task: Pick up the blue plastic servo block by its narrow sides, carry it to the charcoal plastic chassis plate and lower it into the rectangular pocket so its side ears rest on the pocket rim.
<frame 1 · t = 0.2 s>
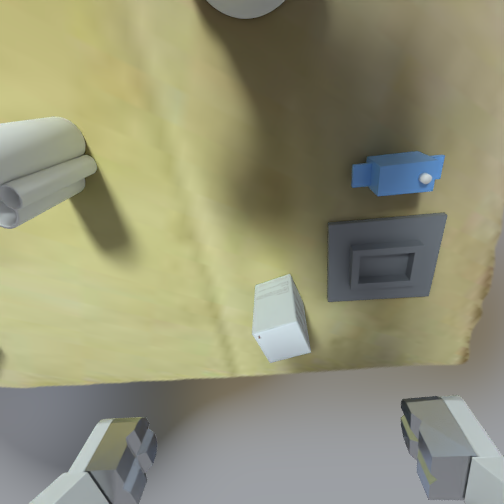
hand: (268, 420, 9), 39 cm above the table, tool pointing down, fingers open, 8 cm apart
white cylinder cluster: (71, 156, 44), on the table
supplement box: (279, 292, 55), on the table
servo block: (390, 167, 42), on the table
chassis plate: (379, 259, 50), on the table
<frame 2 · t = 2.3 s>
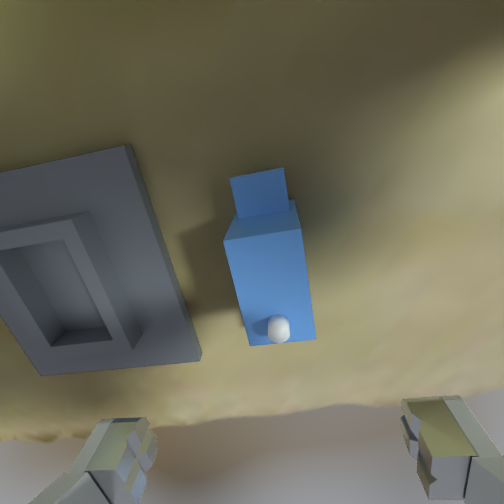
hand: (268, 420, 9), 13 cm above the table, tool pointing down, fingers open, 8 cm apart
servo block: (273, 249, 21), on the table
chassis plate: (81, 278, 23), on the table
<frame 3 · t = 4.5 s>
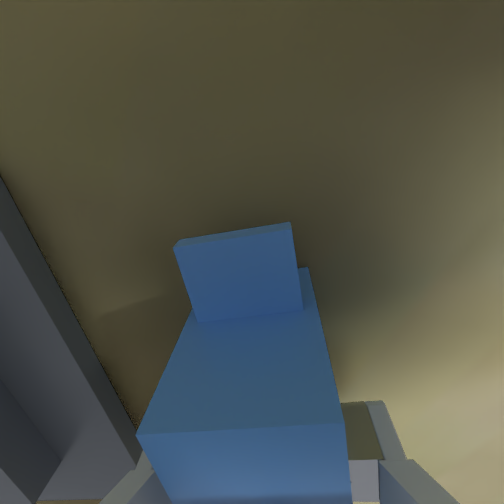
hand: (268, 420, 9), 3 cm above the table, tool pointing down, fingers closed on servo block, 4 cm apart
servo block: (270, 345, 12), on the table, touching gripper
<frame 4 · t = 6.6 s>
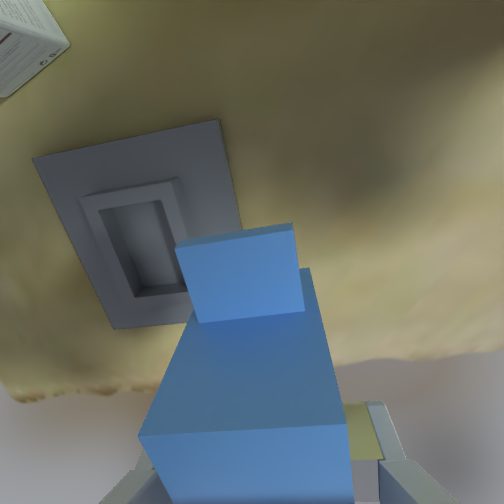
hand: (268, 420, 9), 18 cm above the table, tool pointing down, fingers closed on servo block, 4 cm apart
supplement box: (7, 24, 21), on the table
servo block: (271, 346, 12), point 15 cm above the table, touching gripper
chassis plate: (159, 239, 27), on the table
when the fingers open (6 cm above the table, at t = 9.1 s): servo block drops 2 cm, resting on chassis plate.
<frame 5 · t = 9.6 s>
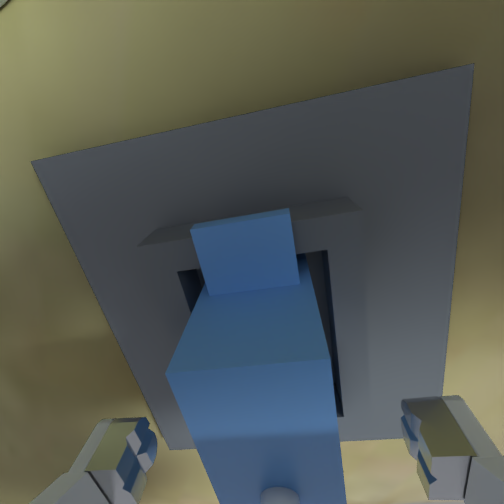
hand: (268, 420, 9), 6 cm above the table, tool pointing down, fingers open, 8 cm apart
servo block: (271, 323, 14), point 1 cm above the table, touching chassis plate
chassis plate: (270, 310, 14), on the table
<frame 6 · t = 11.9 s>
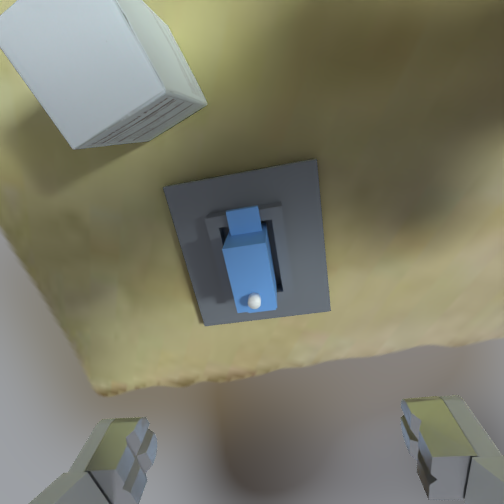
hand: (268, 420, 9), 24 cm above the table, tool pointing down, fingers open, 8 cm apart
supplement box: (158, 88, 27), on the table
servo block: (253, 254, 32), point 1 cm above the table, touching chassis plate
chassis plate: (253, 250, 33), on the table
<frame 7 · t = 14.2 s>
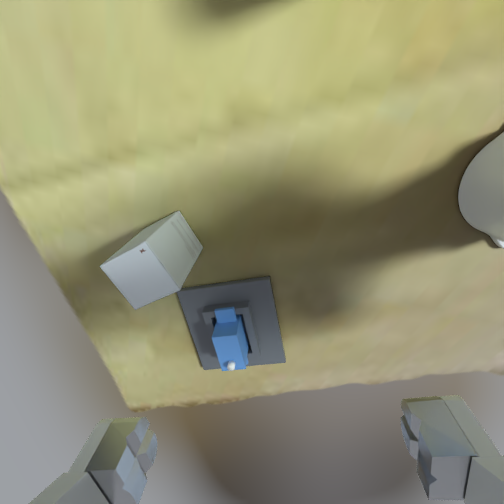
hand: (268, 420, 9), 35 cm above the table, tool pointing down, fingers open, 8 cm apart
supplement box: (173, 238, 46), on the table
servo block: (233, 328, 51), point 1 cm above the table, touching chassis plate
chassis plate: (234, 325, 52), on the table
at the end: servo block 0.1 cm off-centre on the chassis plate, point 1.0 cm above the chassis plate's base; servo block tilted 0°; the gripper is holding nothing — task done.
